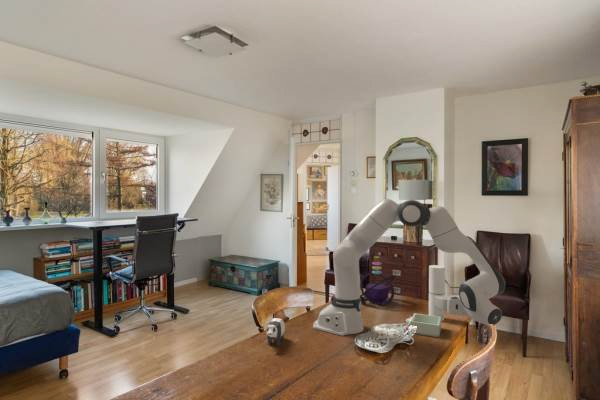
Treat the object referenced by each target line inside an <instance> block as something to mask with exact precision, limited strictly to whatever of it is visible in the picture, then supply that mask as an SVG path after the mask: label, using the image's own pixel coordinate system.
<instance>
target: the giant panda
mask: <svg viewBox="0 0 600 400" xmlns="http://www.w3.org/2000/svg"><path fill="white" fill-rule="evenodd" d="M285 325H286V324H285V322H284V320H283V318H279V317H275V318H272V319H271V321H270V322H269V323H268V326H267V328H266V335H267V346H271V345H272V344H273V340H275V346H277V347H279V346H281V340H282V341H283V340H284V336H285V335H284V334H285V331H286V326H285Z"/></svg>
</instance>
